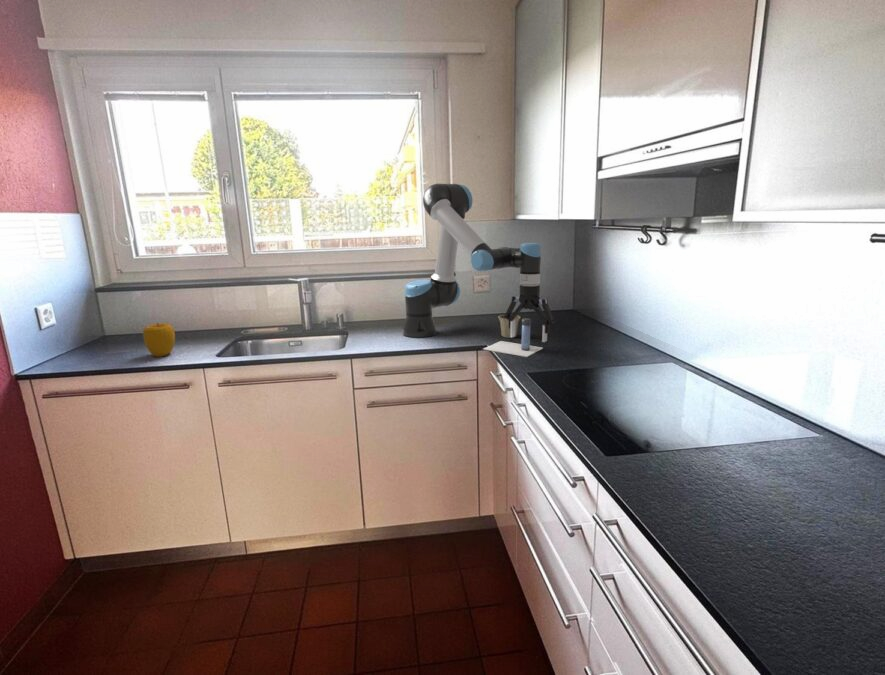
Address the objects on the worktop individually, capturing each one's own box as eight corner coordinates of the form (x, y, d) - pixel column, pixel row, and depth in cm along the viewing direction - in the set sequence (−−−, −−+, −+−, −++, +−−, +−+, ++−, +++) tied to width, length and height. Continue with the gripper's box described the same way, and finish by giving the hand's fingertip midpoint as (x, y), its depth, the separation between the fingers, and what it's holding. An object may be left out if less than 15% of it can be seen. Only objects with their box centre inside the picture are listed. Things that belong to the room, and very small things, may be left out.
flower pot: (519, 333, 211) (519, 314, 209) (520, 339, 202) (521, 319, 200) (498, 333, 212) (498, 314, 210) (498, 338, 203) (498, 319, 201)
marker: (519, 349, 185) (520, 319, 182) (523, 347, 188) (524, 317, 184) (527, 351, 183) (528, 320, 180) (531, 349, 186) (532, 318, 182)
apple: (182, 354, 189) (177, 322, 186) (151, 360, 182) (145, 327, 178) (173, 349, 196) (168, 318, 193) (143, 355, 189) (137, 323, 186)
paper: (482, 349, 188) (482, 348, 187) (500, 341, 198) (500, 340, 198) (526, 357, 177) (526, 356, 176) (543, 348, 187) (543, 347, 187)
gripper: (496, 283, 185) (495, 336, 190) (556, 288, 170) (554, 345, 176) (505, 281, 191) (504, 332, 196) (565, 285, 176) (562, 341, 182)
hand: (528, 339), depth 186 cm, fingers open, 13 cm apart
